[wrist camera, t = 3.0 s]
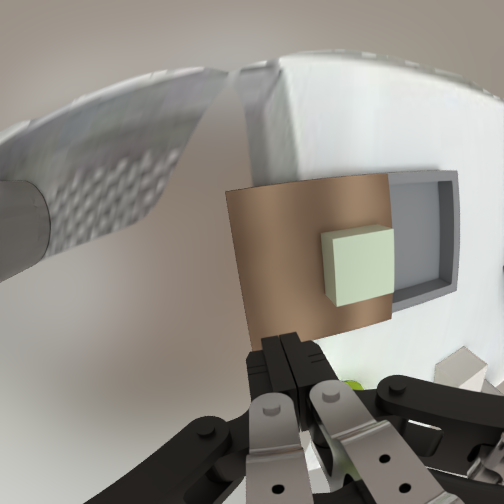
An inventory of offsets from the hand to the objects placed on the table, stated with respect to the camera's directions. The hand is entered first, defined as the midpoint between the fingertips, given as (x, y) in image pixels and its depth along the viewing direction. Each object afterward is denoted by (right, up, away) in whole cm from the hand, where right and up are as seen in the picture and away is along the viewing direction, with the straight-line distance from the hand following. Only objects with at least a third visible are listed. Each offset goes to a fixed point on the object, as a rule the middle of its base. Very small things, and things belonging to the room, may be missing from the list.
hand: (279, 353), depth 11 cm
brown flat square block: (+4, +4, +14) cm, 15 cm away
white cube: (+28, -13, +21) cm, 38 cm away
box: (+15, +6, +15) cm, 22 cm away
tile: (+7, +4, +10) cm, 13 cm away
